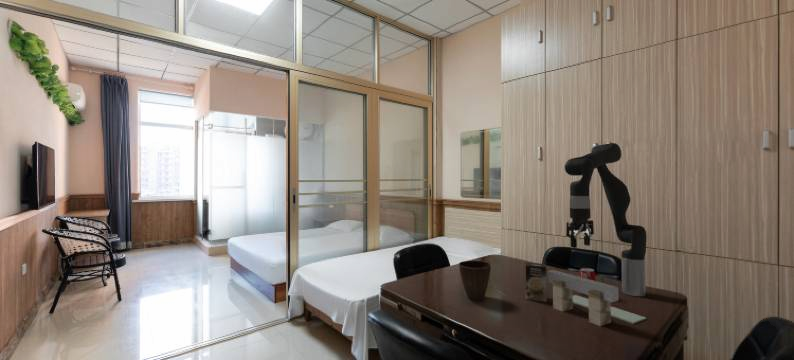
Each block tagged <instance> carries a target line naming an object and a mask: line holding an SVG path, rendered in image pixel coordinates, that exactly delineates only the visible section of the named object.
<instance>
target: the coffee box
mask: <svg viewBox="0 0 794 360" xmlns="http://www.w3.org/2000/svg"><path fill="white" fill-rule="evenodd" d="M547 285H548V284H547V263H536V262H527V261H526V262H525V300H530V301H536V302H537V301H538V302H544V303H546V302H547V298H548V297H547V296H548V293H547Z"/></svg>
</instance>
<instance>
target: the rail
mask: <svg viewBox="0 0 794 360" xmlns="http://www.w3.org/2000/svg"><path fill="white" fill-rule="evenodd" d="M553 279H554V280H558V281H561V282H563V287H564V288H567V289H571V290H572V291H574V292H577V293H580V294H582V293H584V294H587V295H588V290H592V291H595V292H599V293H601V299H603V300H606V301H609V302H611V303H614V302H618V301H619V286H616V285H611V284H607V283H604V282H601V281H593V280H589V279H586V278H582V277H579V275H574V274H570V273H566V272H562V271H559V270H555V269H552V270H546V280H547V283H549V284H551V285H553Z"/></svg>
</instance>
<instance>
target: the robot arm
mask: <svg viewBox="0 0 794 360" xmlns="http://www.w3.org/2000/svg"><path fill="white" fill-rule="evenodd" d="M621 157H622V149H621V147H620V145H619V144H617V143H616V142H609V143H604V144H598V145H595V146H593V147H592V148H591V152H590V153H587V154H584V155H582V156H577V157H573V158H569V159H568V160H567V161H566V162H565V164H564V171H565V173H566V174H567V175H568V176H571V177H572V176H577V177H578V176H581V178H580V179H579V180H575V181H572V182H570V184H569V218H570V219H571V220H572V221H566V226H565V227H566V233H565V234H566V235H565V236H566V237H568V238H569V239H570V247H571V248H574V249H576V248H578V247H577V246H578V238H577V237H578V235H580V233H582V234H583V245H584V246H589V247H590V246H591V237H592V236H593V235H594V234H595V229H594V226H595V225H594V220H593V219H591V215H592V214H591V197H590V194H591V193H590V185H591V180H592V177H593V174H594V170H597V173H598V175H599V177H600V179H601V183H602V186H603V190H604V193H605V197H606V199H607V203H608V205H609V208H610V211H611V215H612V218H613V224H614V228H615V233H616V236H617V239H618V240H619V241H620V242H622V243H625V244H630V248H629V249H624V250H622V251H621V253H620V254H621V255H620V256H621V292H622V293H623V294H624V295H625V294H626V295H628V296H632V297H645V296H646V294H647V293H646V291H647V290H646V267H645V266H646V262H645V260H646V259H645V257H646V253H647V239H648V238H647V231H646V229H645V228H644V226H642V225H637V224H636V225H635V224H630V223H628V219H627V217H626V216H627V215H626V214H627V211H628V208H629V207H630V204H631V196H630V192H629V189H628V186H627V185H626V184H625V183H624V182H623V181H622V180H621V179H620V178H619V177H617V176H616V175H615V174H614V173H612V171H611V170H610V169H609V167H608V166H607V164H614V163H618V162H619V161H620V160H621Z"/></svg>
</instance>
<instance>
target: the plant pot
mask: <svg viewBox="0 0 794 360" xmlns="http://www.w3.org/2000/svg"><path fill="white" fill-rule="evenodd" d="M458 266H459V267H458V268H459V273H460V278H461V283H462V285H463V288H464V291H465V294H466V296H467V299H469V298H470V299H469V300H472V299H473V300H472V301H480V300H483V299H484V298H485V294H486V292H487V289H488V285H489V281H490V274H491V266H492V264H491V263H489V262H487V261H482V260H465V261H464V260H463V261H460V262H459V263H458Z"/></svg>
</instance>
